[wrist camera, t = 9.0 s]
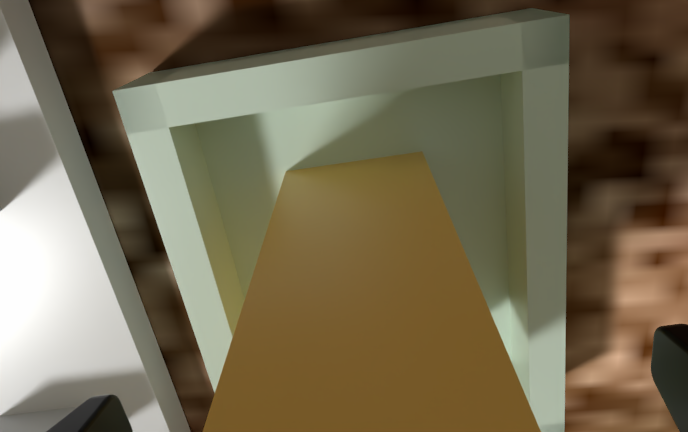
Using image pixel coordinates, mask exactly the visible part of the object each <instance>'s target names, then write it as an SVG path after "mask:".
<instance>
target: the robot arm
mask: <svg viewBox="0 0 688 432" xmlns="http://www.w3.org/2000/svg"><path fill="white" fill-rule="evenodd" d="M651 372H652V377H653V380H654V382H655V384H656V386H657V388H658V390H659V392H660V394H661V396H662V398H663V400H664V402H665V404H666V406H667V408H668V410H669V412H670V414H671V416H672V418H673V420H674V421H675V423H676V425H677V427H678V429H679V431H680V432H688V325H686V324H675V325H667V326H660V327H658V328H657V329H656V331H655V333H654V340H653V351H652V361H651ZM46 432H133V430H132V427H131V424H130V422H129V420H128V417H127V415H126V413H125V411H124V408H123V406H122V404H121V401H120V400H119V398H118V397H117V396H116V395H113V394H108V395H100V396H94V397H91V398H89V399H87V400H86V401H85V402H83V403H82V404H81V405H80V406H78V407H77V408H76V409H74V410H73V411H72V412H71V413H69V414H68V415H67V416H65V417H64V418H63V419H62V420H60V421H59V422H58V423H57V424H55V425H54V426H53V427H51V428H50V429H49V430H48V431H46Z"/></svg>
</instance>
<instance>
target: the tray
mask: <svg viewBox="0 0 688 432" xmlns="http://www.w3.org/2000/svg"><path fill="white" fill-rule="evenodd" d="M569 24H570V15H569V14H564V13H558V12H552V11H546V10H541V9H535V8H529V9H523V10H517V11H511V12H505V13H499V14H493V15H487V16H481V17H475V18H469V19H464V20H458V21H452V22H446V23H440V24H434V25H428V26H422V27H416V28H410V29H404V30H398V31H393V32H387V33H381V34H375V35H369V36H363V37H357V38H351V39H345V40H339V41H333V42H327V43H321V44H316V45H310V46H304V47H298V48H292V49H286V50H280V51H274V52H268V53H262V54H256V55H250V56H244V57H239V58H233V59H227V60H221V61H215V62H209V63H203V64H197V65H191V66H185V67H179V68H173V69H168V70H162V71H156V72H150V73H148V74H146V75H144V76H142V77H140V78H138V79H136V80H134V81H132V82H130V83H128V84H126V85H124V86H121V87H119V88H117V89H115V90H113V91H112V92H113V95H114V98H115V101H116V104H117V107H118V110H119V112H120V115H121V118H122V121H123V124H124V127H125V130H126V133H127V136H128V139H129V142H130V145H131V148H132V151H133V154H134V157H135V160H136V163H137V166H138V169H139V171H140V174H141V177H142V180H143V183H144V186H145V189H146V192H147V195H148V198H149V201H150V204H151V207H152V210H153V213H154V216H155V219H156V222H157V225H158V228H159V231H160V233H161V236H162V239H163V242H164V245H165V248H166V251H167V254H168V257H169V260H170V263H171V266H172V269H173V272H174V275H175V278H176V281H177V284H178V287H179V290H180V292H181V295H182V298H183V301H184V304H185V307H186V310H187V313H188V316H189V319H190V322H191V325H192V328H193V331H194V334H195V337H196V340H197V343H198V346H199V349H200V351H201V354H202V357H203V360H204V363H205V366H206V369H207V372H208V375H209V378H210V381H211V384H212V387H213V390H214V393H215V391H216V388H217V385H218V382H219V379H220V375H221V372H222V369H223V366H224V363H225V360H226V357H227V353H228V350H229V347H230V344H231V341H232V338H233V335H234V332H235V328H236V325H237V322H238V319H239V316H240V313H241V310H242V307H243V303H244V300H245V297H246V294H247V291H248V288H249V285H250V282H251V278H252V275H253V272H254V269H255V266H256V263H257V260H258V257H259V253H260V250H261V247H262V244H263V241H264V238H265V235H266V231H267V228H268V225H269V222H270V219H271V216H272V213H273V210H274V206H275V203H276V200H277V197H278V194H279V191H280V188H281V185H282V181H283V178H284V175H285V172H286V171H291V170H298V169H304V168H311V167H318V166H325V165H332V164H339V163H346V162H353V161H359V160H366V159H373V158H380V157H387V156H394V155H401V154H408V153H414V152H421V151H422V152H423V154H424V156H425V159H426V161H427V164H428V166H429V168H430V171H431V173H432V175H433V178H434V180H435V182H436V185H437V187H438V190H439V192H440V194H441V197H442V199H443V201H444V204H445V206H446V208H447V211H448V213H449V216H450V218H451V220H452V223H453V225H454V227H455V230H456V232H457V234H458V237H459V239H460V242H461V244H462V246H463V249H464V251H465V253H466V256H467V258H468V260H469V263H470V265H471V268H472V270H473V272H474V275H475V277H476V279H477V282H478V284H479V286H480V289H481V291H482V294H483V296H484V298H485V301H486V303H487V305H488V308H489V310H490V312H491V315H492V317H493V320H494V322H495V324H496V327H497V329H498V331H499V334H500V336H501V338H502V341H503V343H504V346H505V348H506V350H507V353H508V355H509V357H510V360H511V362H512V364H513V367H514V369H515V372H516V374H517V376H518V379H519V381H520V383H521V386H522V388H523V390H524V393H525V395H526V398H527V400H528V402H529V405H530V407H531V409H532V412H533V414H534V416H535V419H536V421H537V424H538V426H539V428H540V431H541V432H564V428H565V347H566V266H567V185H568V104H569Z"/></svg>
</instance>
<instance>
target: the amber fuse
mask: <svg viewBox="0 0 688 432" xmlns="http://www.w3.org/2000/svg"><path fill="white" fill-rule="evenodd" d="M203 432H541V431H540V428H539V426H538V424H537V421H536V419H535V416H534V414H533V412H532V409H531V407H530V405H529V402H528V400H527V398H526V395H525V393H524V390H523V388H522V386H521V383H520V381H519V379H518V376H517V374H516V372H515V369H514V367H513V364H512V362H511V360H510V357H509V355H508V353H507V350H506V348H505V346H504V343H503V341H502V338H501V336H500V334H499V331H498V329H497V327H496V324H495V322H494V320H493V317H492V315H491V312H490V310H489V308H488V305H487V303H486V301H485V298H484V296H483V294H482V291H481V289H480V286H479V284H478V282H477V279H476V277H475V275H474V272H473V270H472V268H471V265H470V263H469V260H468V258H467V256H466V253H465V251H464V249H463V246H462V244H461V242H460V239H459V237H458V234H457V232H456V230H455V227H454V225H453V223H452V220H451V218H450V216H449V213H448V211H447V208H446V206H445V204H444V201H443V199H442V197H441V194H440V192H439V190H438V187H437V185H436V182H435V180H434V178H433V175H432V173H431V171H430V168H429V166H428V164H427V161H426V159H425V156H424V154H423V152H422V151H421V152H414V153H408V154H401V155H394V156H387V157H380V158H373V159H366V160H359V161H353V162H346V163H339V164H332V165H325V166H318V167H311V168H304V169H298V170H291V171H286V172H285V175H284V178H283V181H282V185H281V188H280V191H279V194H278V197H277V200H276V203H275V206H274V210H273V213H272V216H271V219H270V222H269V225H268V228H267V231H266V235H265V238H264V241H263V244H262V247H261V250H260V253H259V257H258V260H257V263H256V266H255V269H254V272H253V275H252V278H251V282H250V285H249V288H248V291H247V294H246V297H245V300H244V303H243V307H242V310H241V313H240V316H239V319H238V322H237V325H236V328H235V332H234V335H233V338H232V341H231V344H230V347H229V350H228V353H227V357H226V360H225V363H224V366H223V369H222V372H221V375H220V379H219V382H218V385H217V388H216V391H215V394H214V397H213V400H212V404H211V407H210V410H209V413H208V416H207V419H206V422H205V425H204V429H203Z"/></svg>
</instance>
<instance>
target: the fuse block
mask: <svg viewBox="0 0 688 432" xmlns="http://www.w3.org/2000/svg"><path fill="white" fill-rule="evenodd" d="M108 394H113V395H116V396H117V397H118V398H119V400H120V401H121V404H122V406H123V408H124V411H125V413H126V415H127V417H128V420H129V422H130V424H131V427H132V430H133V432H191V431H190V428H189V425H188V423H187V420H186V417H185V415H184V412H183V409H182V407H181V404H180V401H179V399H178V396H177V393H176V391H175V388H174V385H173V383H172V380H171V378H170V375H169V372H168V370H167V367H166V364H165V362H164V359H163V356H162V354H161V351H160V348H159V346H158V343H157V340H156V338H155V335H154V332H153V330H152V327H151V324H150V322H149V319H148V317H147V314H146V311H145V309H144V306H143V303H142V301H141V298H140V295H139V293H138V290H137V287H136V285H135V282H134V279H133V277H132V274H131V271H130V269H129V266H128V264H127V261H126V258H125V256H124V253H123V250H122V248H121V245H120V242H119V240H118V237H117V234H116V232H115V229H114V226H113V224H112V221H111V218H110V216H109V213H108V210H107V208H106V205H105V203H104V200H103V197H102V195H101V192H100V189H99V187H98V184H97V181H96V179H95V176H94V173H93V171H92V168H91V165H90V163H89V160H88V157H87V155H86V152H85V150H84V147H83V144H82V142H81V139H80V136H79V134H78V131H77V128H76V126H75V123H74V120H73V118H72V115H71V112H70V110H69V107H68V104H67V102H66V99H65V96H64V94H63V91H62V89H61V86H60V83H59V81H58V78H57V75H56V73H55V70H54V67H53V65H52V62H51V59H50V57H49V54H48V51H47V49H46V46H45V43H44V41H43V38H42V36H41V33H40V30H39V28H38V25H37V22H36V20H35V17H34V14H33V12H32V9H31V6H30V4H29V1H28V0H0V432H46V431H48V430H49V429H50V428H51V427H53V426H54V425H55V424H57V423H58V422H59V421H60V420H62V419H63V418H64V417H65V416H67V415H68V414H69V413H71V412H72V411H73V410H74V409H76V408H77V407H78V406H80V405H81V404H82V403H83V402H85V401H86V400H87V399H89V398H91V397H94V396H100V395H108Z"/></svg>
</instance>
